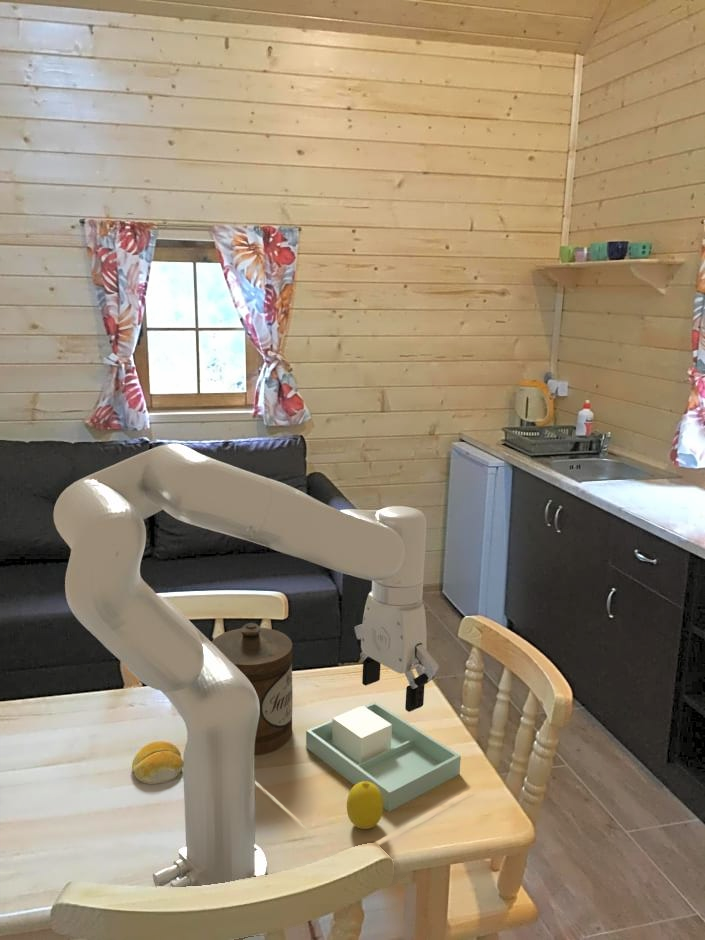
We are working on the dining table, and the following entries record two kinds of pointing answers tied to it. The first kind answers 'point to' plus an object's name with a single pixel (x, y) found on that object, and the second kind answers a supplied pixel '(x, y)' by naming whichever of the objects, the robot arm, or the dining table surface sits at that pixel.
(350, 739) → the carton
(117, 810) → the dining table surface
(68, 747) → the dining table surface
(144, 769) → the bread roll
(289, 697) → the wooden container
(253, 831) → the robot arm
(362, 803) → the lemon
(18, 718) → the dining table surface
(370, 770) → the tray
